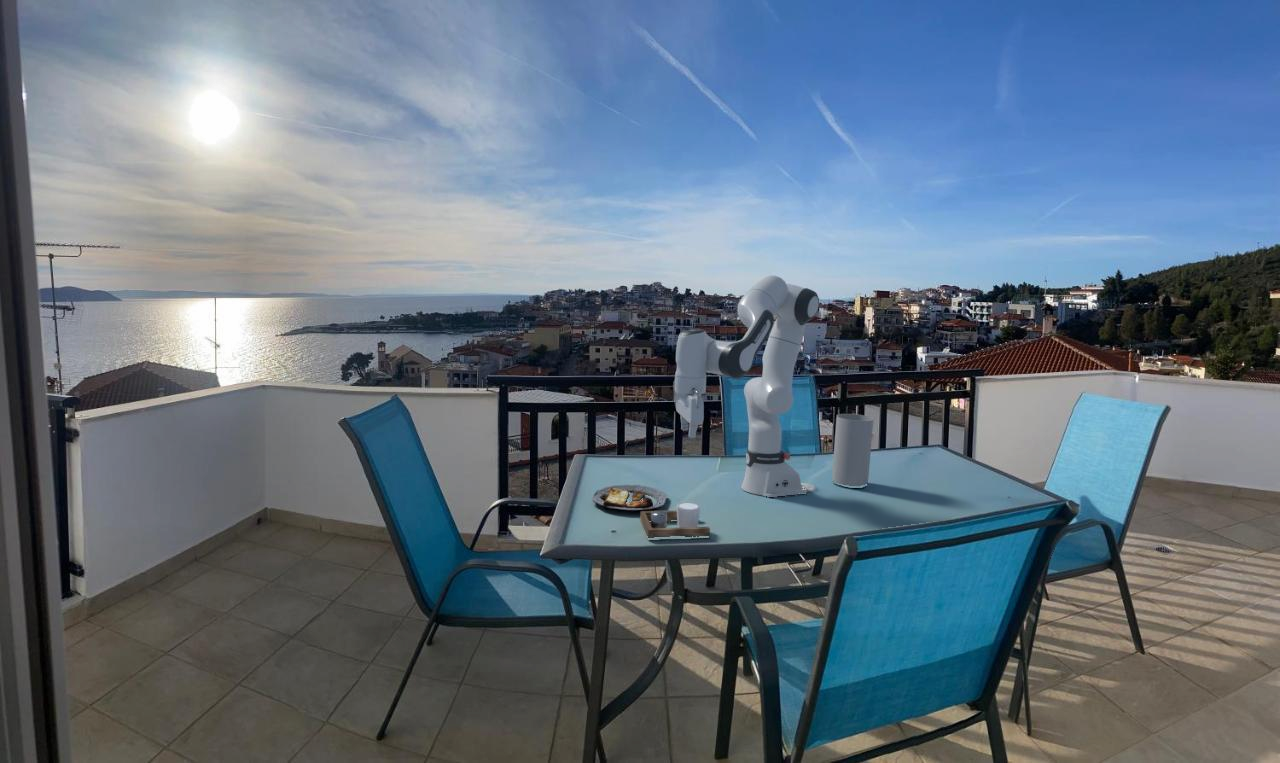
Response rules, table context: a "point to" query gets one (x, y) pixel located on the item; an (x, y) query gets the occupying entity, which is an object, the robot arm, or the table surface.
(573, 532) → the table surface
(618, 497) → the food plate
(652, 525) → the grey rounded piece
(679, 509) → the shot glass
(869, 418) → the cylinder vase
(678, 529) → the wooden u-shaped frame
